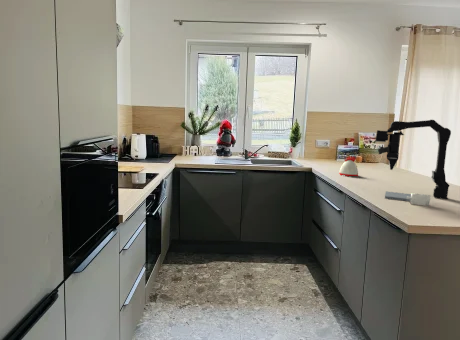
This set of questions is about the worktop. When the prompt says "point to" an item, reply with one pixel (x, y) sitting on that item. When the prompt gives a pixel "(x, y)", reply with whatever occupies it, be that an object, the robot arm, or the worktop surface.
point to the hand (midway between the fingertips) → (391, 168)
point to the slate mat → (397, 196)
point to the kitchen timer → (349, 168)
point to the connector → (419, 199)
